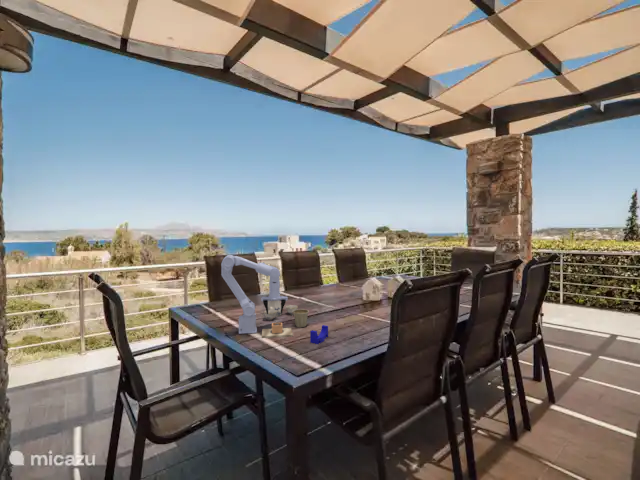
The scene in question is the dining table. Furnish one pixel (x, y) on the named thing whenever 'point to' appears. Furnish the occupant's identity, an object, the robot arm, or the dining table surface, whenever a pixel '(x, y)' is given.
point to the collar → (277, 328)
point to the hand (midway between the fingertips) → (274, 313)
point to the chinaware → (277, 309)
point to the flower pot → (300, 317)
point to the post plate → (268, 333)
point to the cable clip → (323, 334)
